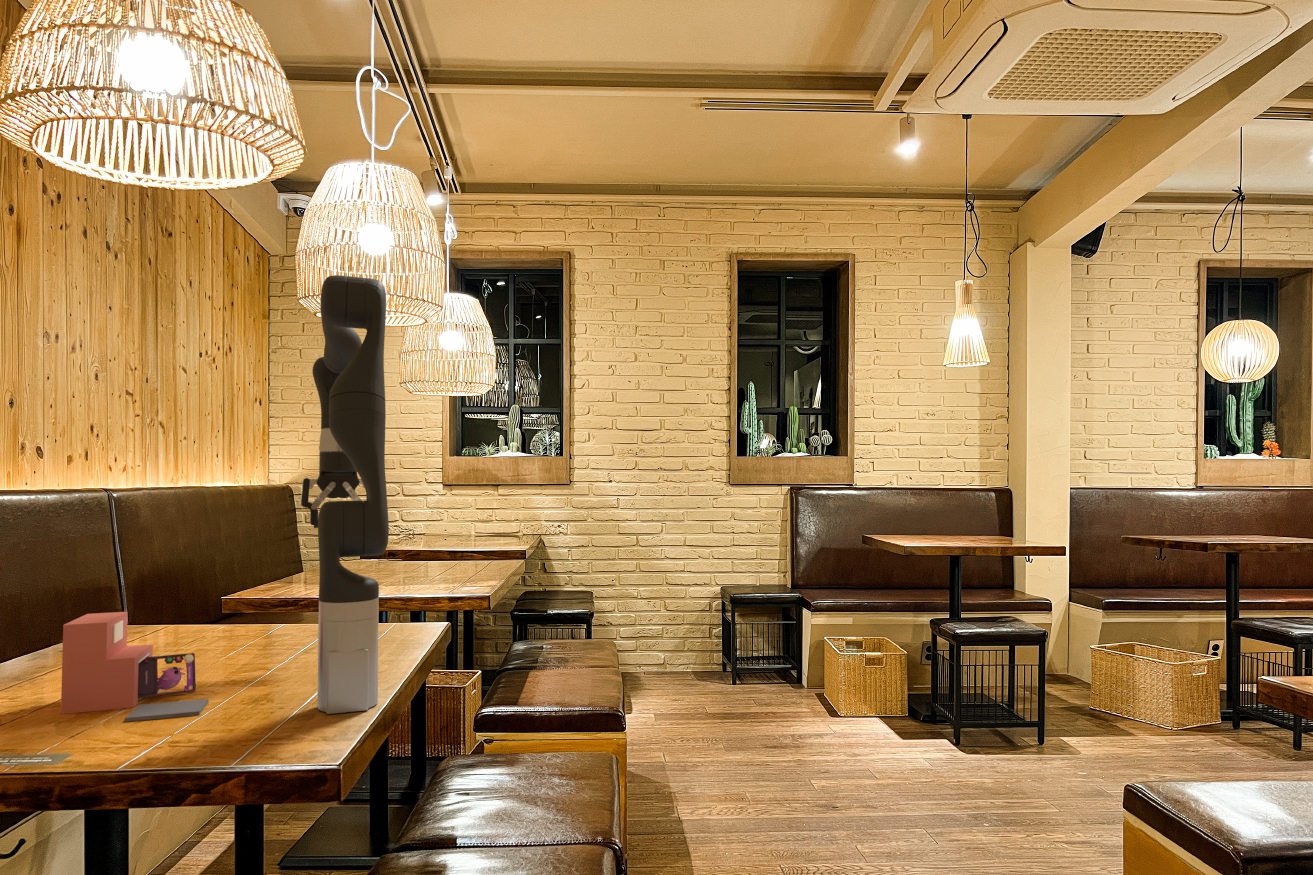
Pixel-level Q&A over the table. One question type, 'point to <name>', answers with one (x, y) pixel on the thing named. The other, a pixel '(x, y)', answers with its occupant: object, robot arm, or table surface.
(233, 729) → the table surface
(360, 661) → the robot arm
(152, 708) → the mat
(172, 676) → the boxed purple toy
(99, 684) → the dispenser
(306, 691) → the table surface
